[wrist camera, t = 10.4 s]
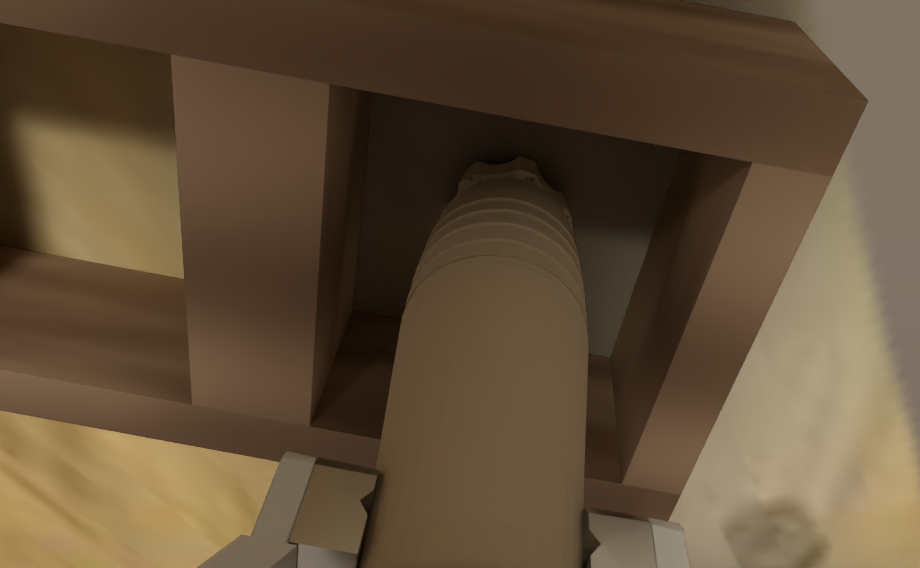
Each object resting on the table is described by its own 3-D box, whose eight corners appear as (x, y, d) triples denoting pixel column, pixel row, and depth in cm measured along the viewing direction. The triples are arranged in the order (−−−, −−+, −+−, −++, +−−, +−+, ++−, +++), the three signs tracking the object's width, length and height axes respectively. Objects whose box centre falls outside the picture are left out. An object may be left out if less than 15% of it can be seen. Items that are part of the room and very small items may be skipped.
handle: (442, 309, 23) (312, 950, 11) (395, 104, 19) (119, 701, 7) (606, 295, 22) (674, 975, 10) (588, 77, 19) (656, 706, 6)
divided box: (-154, -155, 18) (-371, -130, 13) (794, 21, 18) (868, 100, 13) (-41, 276, 24) (-162, 380, 20) (644, 402, 24) (662, 532, 20)
